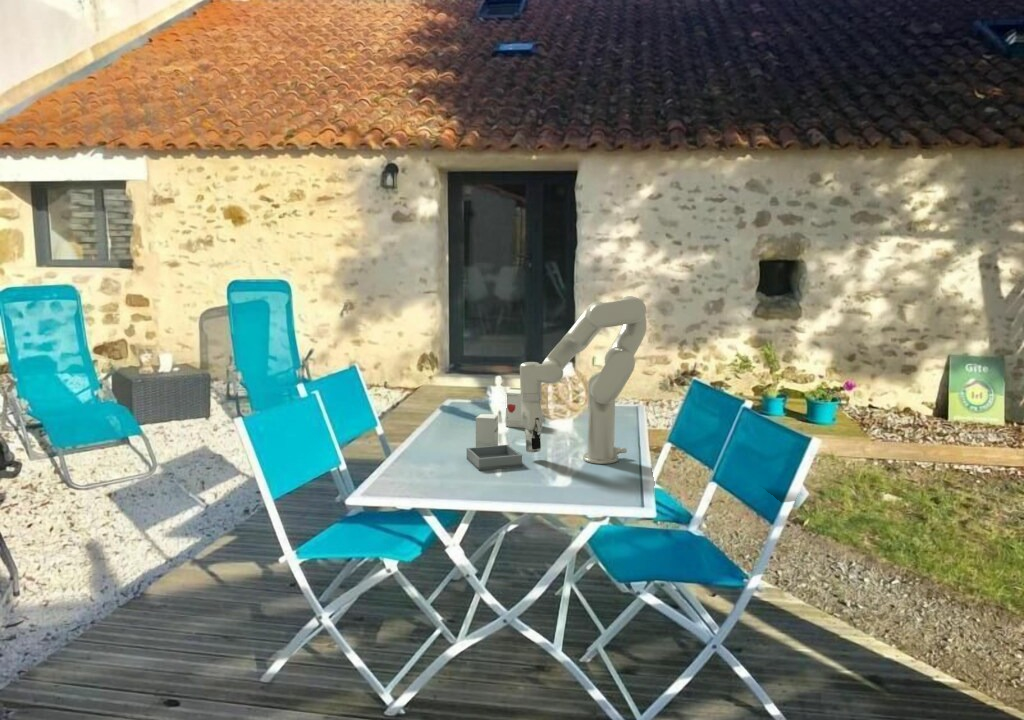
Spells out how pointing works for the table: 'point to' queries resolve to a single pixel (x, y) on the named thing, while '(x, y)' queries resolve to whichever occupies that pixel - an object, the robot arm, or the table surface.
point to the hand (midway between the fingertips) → (533, 446)
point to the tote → (494, 457)
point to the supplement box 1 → (486, 430)
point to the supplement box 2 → (513, 408)
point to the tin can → (529, 442)
